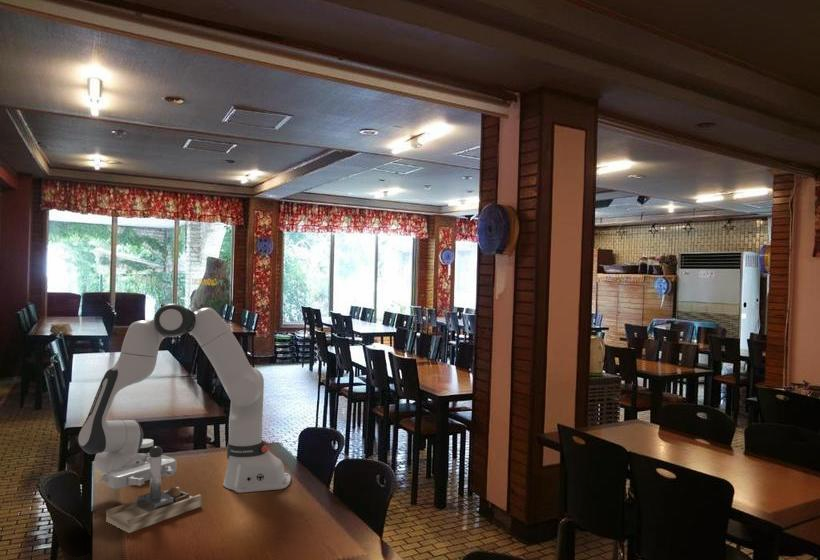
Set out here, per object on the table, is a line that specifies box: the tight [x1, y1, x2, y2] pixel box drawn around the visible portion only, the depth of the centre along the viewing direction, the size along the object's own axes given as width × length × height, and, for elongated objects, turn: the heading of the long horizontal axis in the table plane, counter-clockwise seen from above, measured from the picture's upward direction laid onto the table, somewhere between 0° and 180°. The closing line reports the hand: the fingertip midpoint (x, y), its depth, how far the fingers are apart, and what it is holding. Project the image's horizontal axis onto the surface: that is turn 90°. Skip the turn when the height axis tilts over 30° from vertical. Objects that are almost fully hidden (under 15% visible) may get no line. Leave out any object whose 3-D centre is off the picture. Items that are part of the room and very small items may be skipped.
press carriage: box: [136, 445, 173, 512], centre depth 173 cm, size 7×9×18 cm
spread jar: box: [138, 438, 154, 453], centre depth 206 cm, size 12×11×12 cm
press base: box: [105, 486, 202, 534], centre depth 173 cm, size 23×12×4 cm, turn 146°
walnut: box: [167, 487, 181, 501], centre depth 178 cm, size 4×4×4 cm
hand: (157, 477), depth 172 cm, fingers open, 8 cm apart
